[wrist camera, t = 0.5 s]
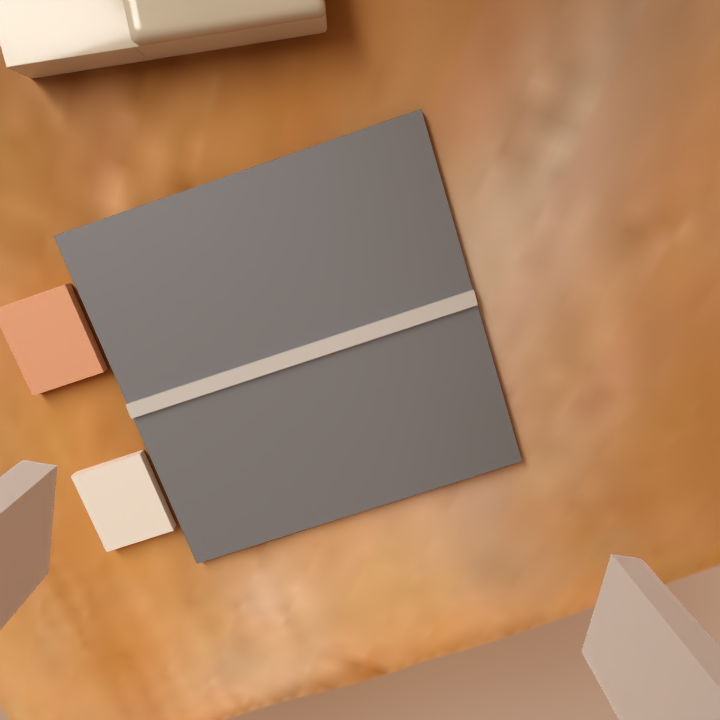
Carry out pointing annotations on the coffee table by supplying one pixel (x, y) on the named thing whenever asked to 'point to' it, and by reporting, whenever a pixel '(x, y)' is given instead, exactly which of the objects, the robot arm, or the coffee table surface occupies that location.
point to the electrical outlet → (141, 30)
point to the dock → (277, 345)
